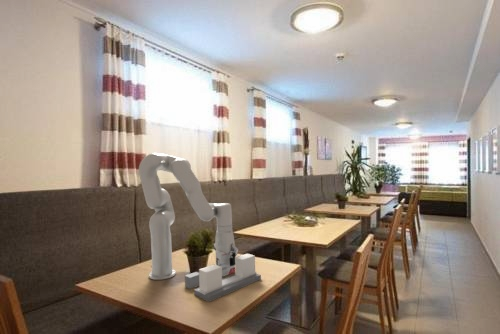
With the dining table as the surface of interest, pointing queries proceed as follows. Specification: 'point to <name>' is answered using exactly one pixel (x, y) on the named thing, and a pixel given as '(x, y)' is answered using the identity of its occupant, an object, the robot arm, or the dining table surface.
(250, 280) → the rail panel
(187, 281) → the block
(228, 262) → the ink box
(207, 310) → the dining table surface
